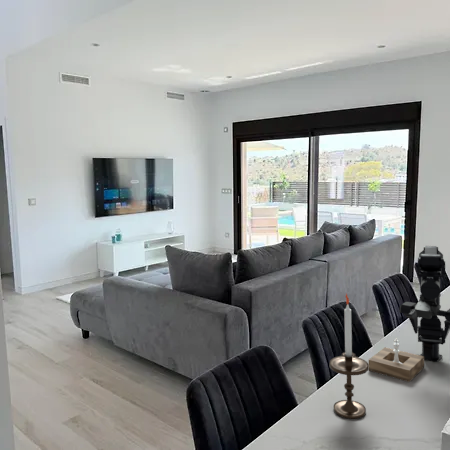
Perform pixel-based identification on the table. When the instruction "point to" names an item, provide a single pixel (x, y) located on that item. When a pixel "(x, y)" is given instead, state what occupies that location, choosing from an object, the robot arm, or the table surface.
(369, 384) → the table surface
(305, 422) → the table surface
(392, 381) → the table surface
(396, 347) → the chess piece
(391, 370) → the tan wooden square block
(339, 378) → the table surface
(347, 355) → the candlestick
